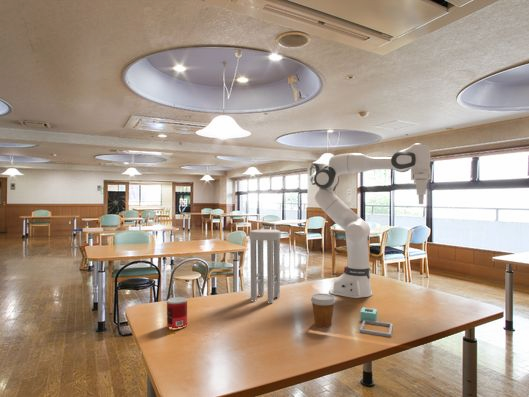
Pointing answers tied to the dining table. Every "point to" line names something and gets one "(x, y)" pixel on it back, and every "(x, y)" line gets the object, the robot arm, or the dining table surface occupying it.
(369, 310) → the stake
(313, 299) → the disposable coffee cup
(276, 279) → the stool
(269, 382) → the dining table surface
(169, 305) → the canned food
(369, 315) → the ring
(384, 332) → the tray
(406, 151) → the robot arm
